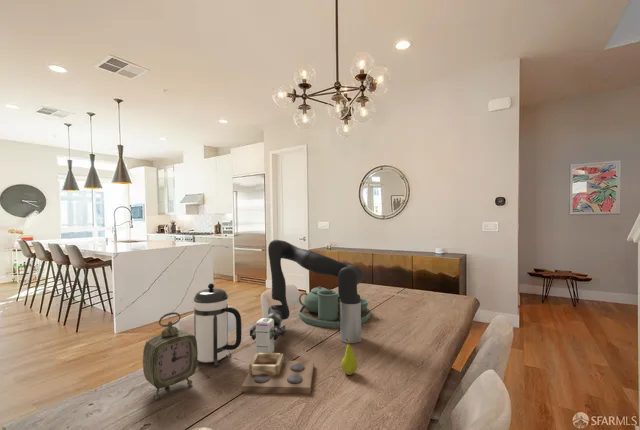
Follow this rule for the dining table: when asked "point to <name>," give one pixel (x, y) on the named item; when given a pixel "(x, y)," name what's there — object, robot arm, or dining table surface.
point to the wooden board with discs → (278, 375)
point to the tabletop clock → (169, 356)
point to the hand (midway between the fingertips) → (264, 337)
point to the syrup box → (265, 335)
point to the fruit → (349, 361)
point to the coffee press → (213, 325)
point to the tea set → (326, 308)
